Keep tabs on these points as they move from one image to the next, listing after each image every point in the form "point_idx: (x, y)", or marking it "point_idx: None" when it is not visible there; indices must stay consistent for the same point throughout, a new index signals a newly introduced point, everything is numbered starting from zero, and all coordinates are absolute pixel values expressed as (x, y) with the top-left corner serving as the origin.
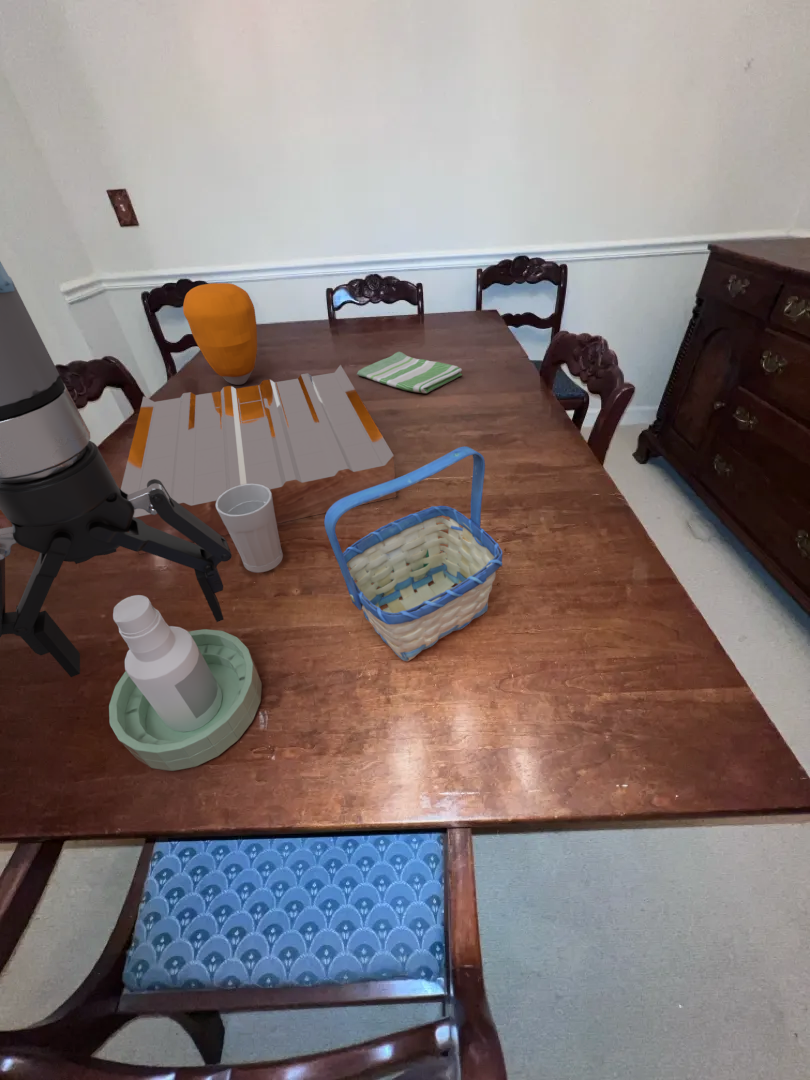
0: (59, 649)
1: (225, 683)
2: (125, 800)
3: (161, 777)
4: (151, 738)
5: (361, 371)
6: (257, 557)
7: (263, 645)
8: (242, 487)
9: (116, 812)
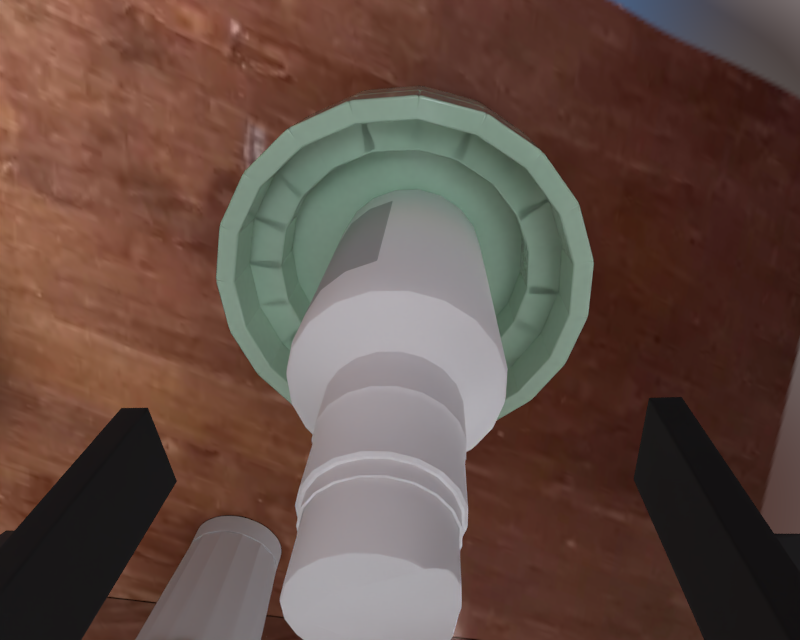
0: (726, 532)
1: None
2: (595, 80)
3: (507, 103)
4: (506, 193)
5: None
6: (225, 557)
7: None
8: None
9: (620, 56)
